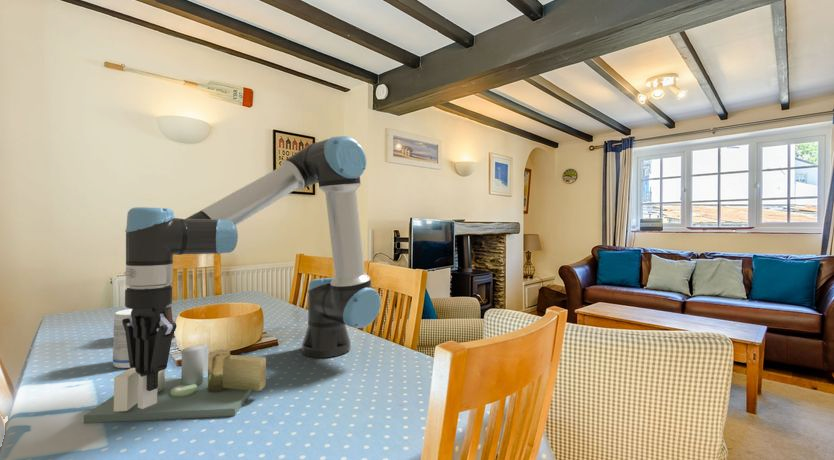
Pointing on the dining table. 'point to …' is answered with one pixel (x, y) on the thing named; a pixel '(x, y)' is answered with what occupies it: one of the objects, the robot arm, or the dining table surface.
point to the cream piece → (130, 389)
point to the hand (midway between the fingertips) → (147, 405)
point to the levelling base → (180, 396)
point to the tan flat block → (235, 371)
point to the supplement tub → (120, 340)
